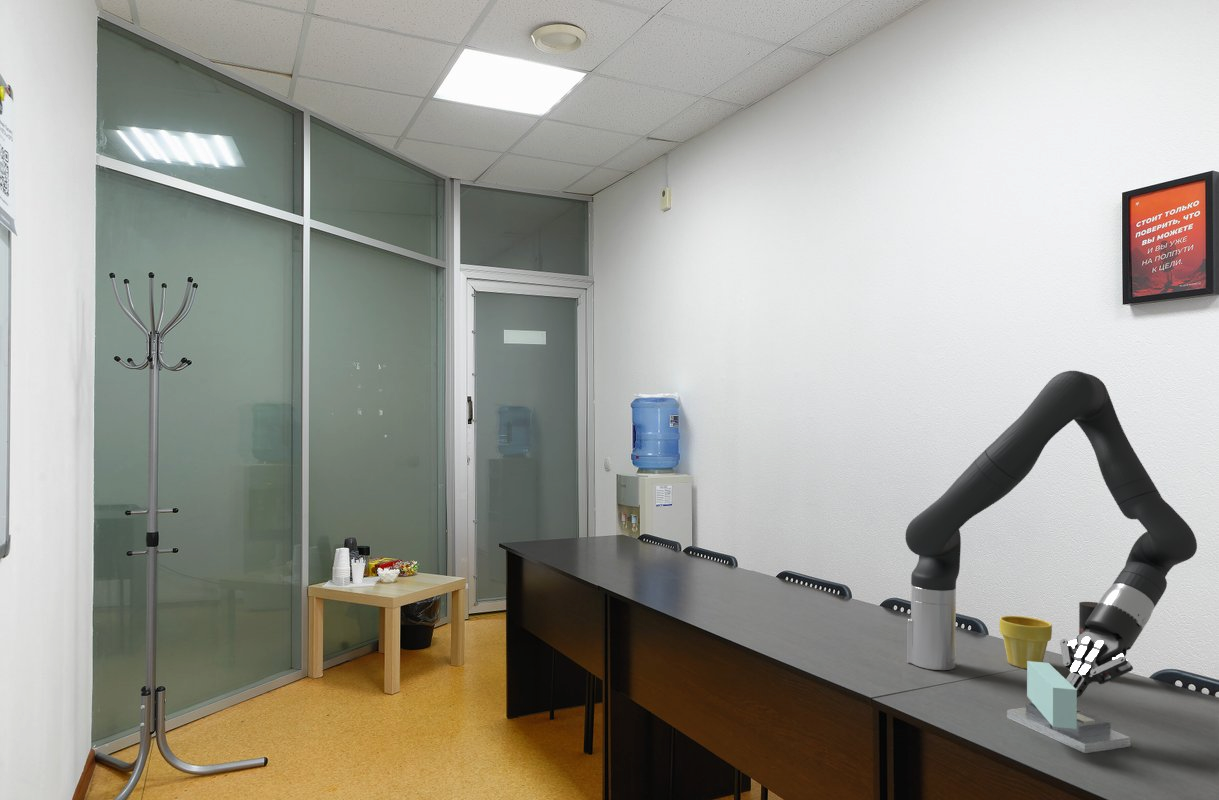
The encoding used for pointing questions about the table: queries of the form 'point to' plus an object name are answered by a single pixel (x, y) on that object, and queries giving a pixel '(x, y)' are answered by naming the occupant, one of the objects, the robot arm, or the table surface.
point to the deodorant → (1085, 615)
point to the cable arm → (1052, 695)
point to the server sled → (1072, 730)
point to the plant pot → (1025, 639)
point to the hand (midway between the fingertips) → (1068, 695)
